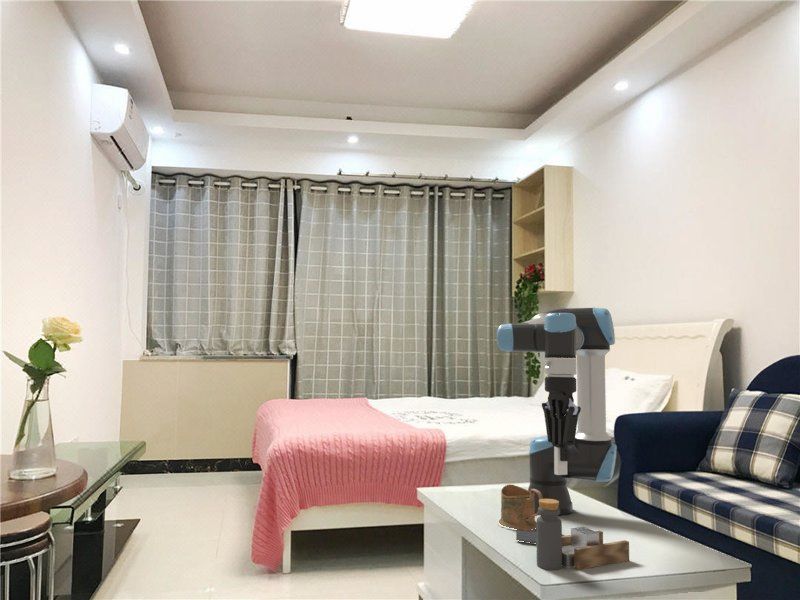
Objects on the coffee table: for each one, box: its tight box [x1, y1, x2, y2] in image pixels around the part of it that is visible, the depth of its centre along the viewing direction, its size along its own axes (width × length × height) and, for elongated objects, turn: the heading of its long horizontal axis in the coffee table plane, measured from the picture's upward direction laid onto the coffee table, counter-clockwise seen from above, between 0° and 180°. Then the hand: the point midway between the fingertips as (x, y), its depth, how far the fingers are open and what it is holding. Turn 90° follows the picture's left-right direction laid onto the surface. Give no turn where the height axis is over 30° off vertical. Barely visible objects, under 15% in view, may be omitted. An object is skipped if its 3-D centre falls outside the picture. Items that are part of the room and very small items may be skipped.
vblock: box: [515, 529, 566, 545], centre depth 160 cm, size 9×14×3 cm, turn 25°
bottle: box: [536, 499, 563, 571], centre depth 146 cm, size 6×6×15 cm
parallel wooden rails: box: [562, 530, 630, 570], centre depth 151 cm, size 16×10×4 cm, turn 115°
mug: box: [498, 484, 543, 531], centre depth 177 cm, size 12×18×12 cm, turn 22°
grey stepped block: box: [562, 526, 599, 569], centre depth 149 cm, size 10×6×7 cm, turn 115°
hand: (560, 474), depth 149 cm, fingers closed
